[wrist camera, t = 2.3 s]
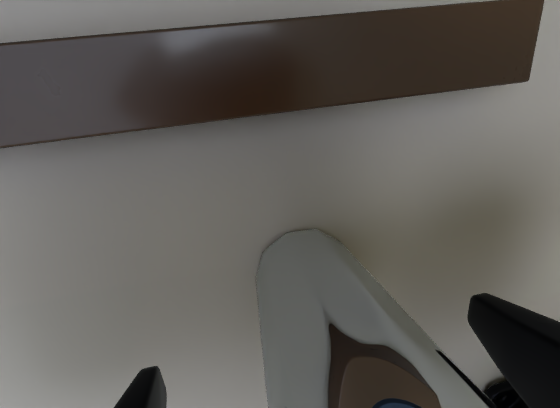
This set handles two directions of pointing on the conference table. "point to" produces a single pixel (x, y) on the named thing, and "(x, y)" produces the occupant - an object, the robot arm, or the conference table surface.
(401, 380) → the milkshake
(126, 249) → the conference table surface
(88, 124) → the bar
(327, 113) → the conference table surface
